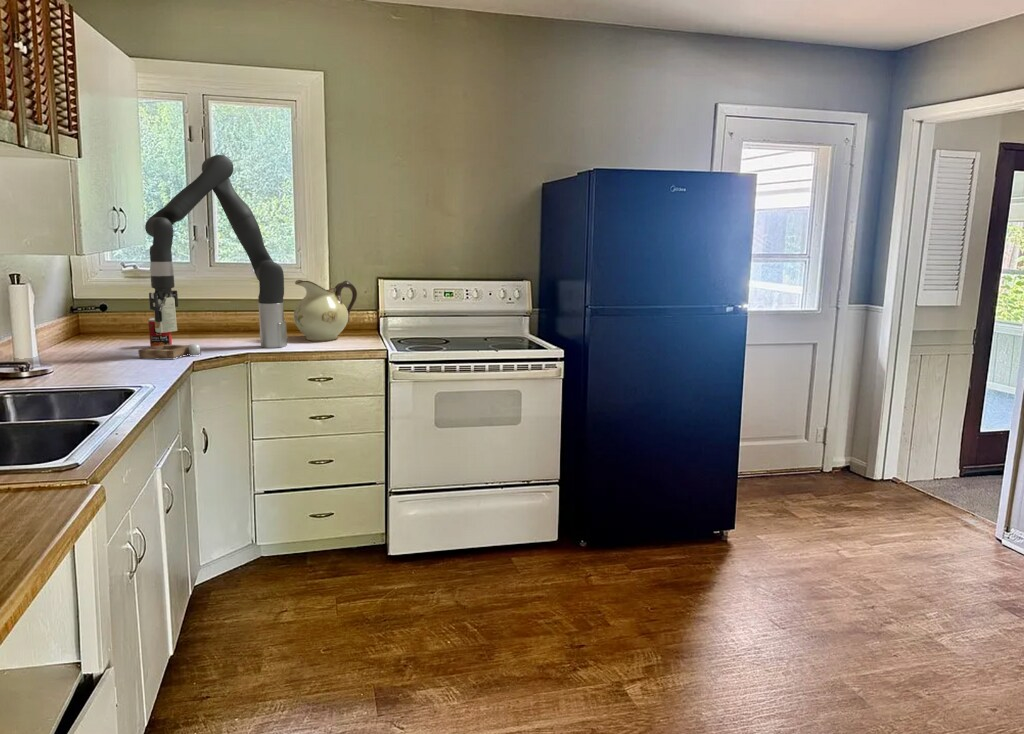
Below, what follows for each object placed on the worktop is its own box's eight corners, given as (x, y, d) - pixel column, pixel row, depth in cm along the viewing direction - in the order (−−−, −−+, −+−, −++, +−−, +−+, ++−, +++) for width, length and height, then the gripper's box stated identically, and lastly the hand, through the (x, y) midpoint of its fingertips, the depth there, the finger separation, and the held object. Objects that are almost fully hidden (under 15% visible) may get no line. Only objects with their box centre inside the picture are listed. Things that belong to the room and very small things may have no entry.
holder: (195, 353, 277) (194, 345, 277) (174, 359, 264) (173, 350, 263) (161, 352, 279) (161, 344, 278) (139, 358, 265) (138, 350, 265)
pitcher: (283, 340, 312) (281, 280, 307) (315, 334, 334) (313, 277, 330) (330, 344, 305) (329, 282, 301) (359, 337, 327) (359, 279, 323)
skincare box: (171, 330, 274) (169, 296, 272) (177, 331, 271) (175, 297, 269) (154, 332, 269) (151, 297, 267) (160, 333, 266) (157, 298, 264)
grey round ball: (202, 354, 274) (201, 344, 274) (197, 356, 271) (196, 345, 270) (192, 354, 275) (192, 343, 274) (187, 356, 271) (186, 345, 270)
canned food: (148, 348, 288) (146, 320, 286) (152, 345, 296) (150, 317, 294) (170, 347, 290) (168, 319, 288) (173, 345, 298) (171, 317, 296)
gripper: (160, 275, 259) (163, 323, 262) (183, 273, 273) (186, 318, 276) (140, 275, 260) (143, 322, 263) (163, 273, 274) (166, 318, 277)
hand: (165, 320), depth 269 cm, fingers closed on skincare box, 7 cm apart
